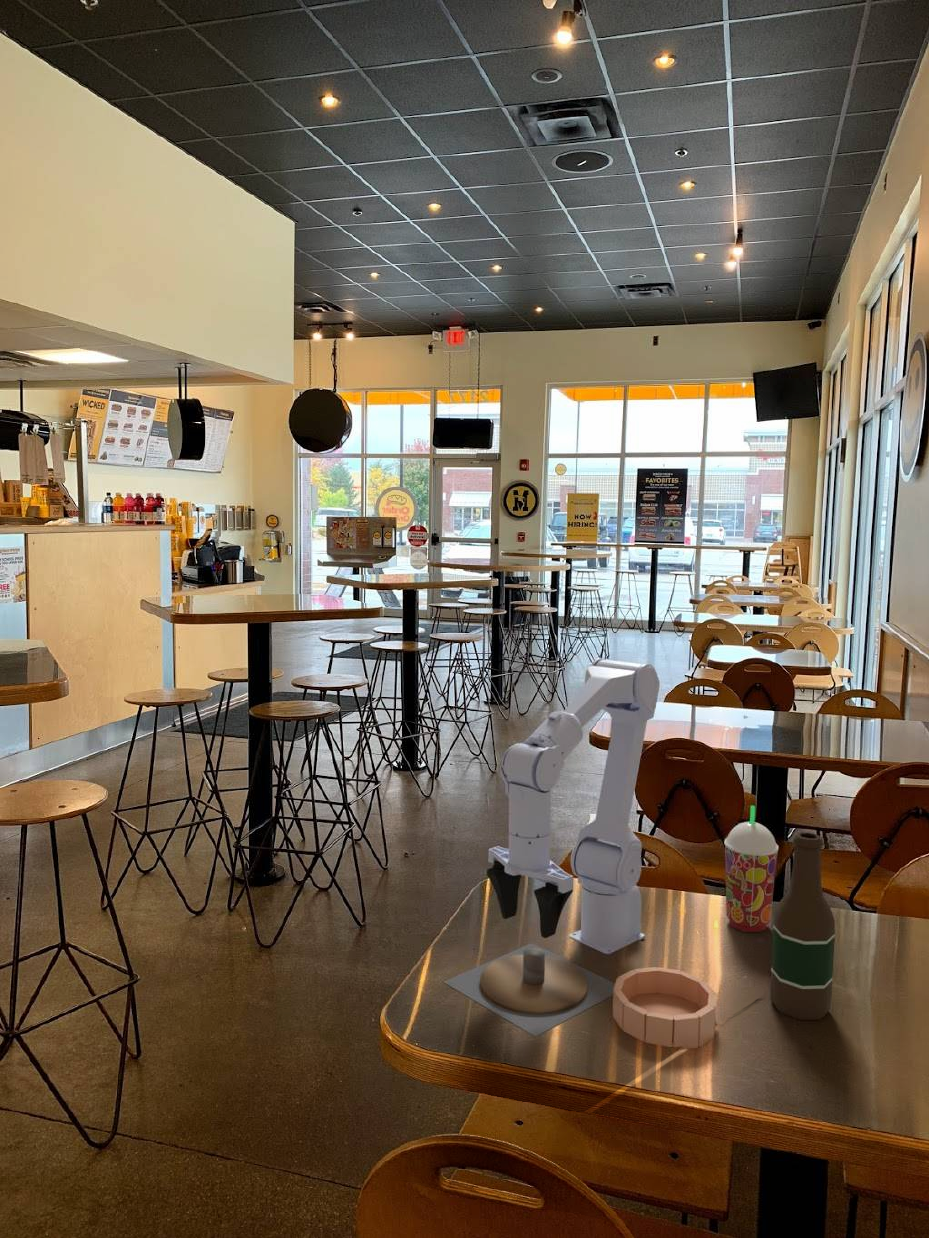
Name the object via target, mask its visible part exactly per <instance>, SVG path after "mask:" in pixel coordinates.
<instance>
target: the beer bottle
mask: <svg viewBox="0 0 929 1238" xmlns="http://www.w3.org/2000/svg"><path fill="white" fill-rule="evenodd" d="M792 842H793V843H794V851H793V852H794V853H793V861H792V870H791V871H792V872H791V878H790V883H789V886H788V887H789V888H788V891H787V892H786V894H785V895H784V896H783V897H782V898H781V899H780V900H779V902H778V905H777V907H776V909H775V911H774V914H773V915H774V916H773V925H772V942H771V943H772V944H771V964H770V965H771V967H770V986H769V987H770V989H769V990H770V993H769V994H770V1001H771V1003H772V1004H773V1005H774V1006H775V1008H776V1009H777V1010H778V1012H779V1013H781V1014H783V1015H785V1016H788V1017H791V1018H794V1019H796V1020H798V1021H818V1020H819V1021H820V1020H822V1019H823V1018H824V1017H825V1016H826V1014H828V1012H829V1011H830V1010H831V1006H832V1005H831V1004H832V995H833V993H832V992H833V977H834V960H835V959H834V958H835V956H834V955H835V937H836V929H835V927H836V924H835V922H836V921H835V917H834V915H833V910H832V908H831V906H830V905H829V904H828V902H827V900H826V899H825V898H824V897H825V896H824V894H823V887H822V851H821V850H822V847H823V846H824V842H823V837H821V836H820V835H818V834H816V833H812V832H808V831H807V832H805V831H804V832H803V831H801V832H797V833H796V834H795V835H794V837H793V840H792Z"/></svg>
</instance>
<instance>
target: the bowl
mask: <svg viewBox="0 0 929 1238" xmlns="http://www.w3.org/2000/svg"><path fill="white" fill-rule="evenodd" d="M717 995H718V994H717V992H716V991H715V990H714V989H713V988H712V987H711V986H710V985H709V983H708V982H707V981H704V979H703V978H702V979H701V978H700V977H697V976H695V975H692V974H690V973H688V972H686V971H684V970H683V971H682V970H678V969H672V968H665V967H660V966H657V967H656V966H653V967H652V966H651V967H641V968H633V969H631V970H629V971H627V972H625V973H623V974H621V975H619V976H618V977H617V978H616V980H615V986H614V989H613V996H612V1017H613V1019H614V1020H615V1022H616V1023H617V1025H618V1026H619V1028H620V1029H621V1030H623V1032H625V1033H626V1034H629V1035H630V1036H632V1037H634V1038H636V1039H638V1040H640V1041H641V1042H645V1043H646V1044H652V1045H658V1046H662V1047H668V1048H672V1047H673V1048H679V1049H678V1051H682V1050H683V1051H684V1050H691V1049H697V1048H700V1047H703V1046H704V1045H705V1044H707V1043H709V1042H710V1041H711V1040H713V1039H714V1038H715V1036H716V1023H717V999H718V997H717Z"/></svg>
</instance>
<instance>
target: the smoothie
mask: <svg viewBox="0 0 929 1238" xmlns="http://www.w3.org/2000/svg"><path fill="white" fill-rule="evenodd" d="M755 815H756V806H754V805H750V816H749V817H750V818H749V821H744V822H741V823H738V824H737V825H735V826H734V827H733V828H731V830H730V832H729V833H728V835H727V837H726V838H725V839H724V841H723V842H724V845H725V846H724V862H725V863H724V864H725V872H724V873H725V897H726V898H725V902H726V903H725V906H726V908H725V909H726V912H725V913H726V917H727V919H728V920H729V921H728V922H729V924H730V926H731V927H733V928H734V929H736V930H738V931H741V932H744V933H761V932H763V931H765V930H766V929H767V925H768V924H770V922H771V914H772V913H771V912H772V905H773V896H774V887H775V879H776V869H777V862H778V852H779V845H778V844H777V843H776V839H775V836H774V835H773V834H772V832H771V831H770V830H769V829H768V828H767V827H766V826H764V825H763V824H761V823H759V822H756V821H755Z"/></svg>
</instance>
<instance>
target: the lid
mask: <svg viewBox="0 0 929 1238" xmlns="http://www.w3.org/2000/svg"><path fill="white" fill-rule="evenodd" d="M480 987H481V990H482V992H483V994H484V995H485V996H486V997H487V998H488V999H489V1000H490V1001H492V1002H493V1003H495V1004H496V1005H498V1006H500V1007H503V1008H505V1009H508V1010H512V1011H516V1012H520V1013H527V1014H550V1013H557V1012H561V1011H565V1010H568V1009H570V1008H572V1007H574V1006H576V1005H578V1004H579V1003H580V1002H581V1001H582V1000H583V999H584V998H585V996H586V994H587V988H588V984H587V979H586V977H585V975H584V974H583V972H582V971H581V970H580V969H578V968H577V967H576V966H574V965H572V964H571V963H569V962H566V961H564V960H561V959H558V958H554V957H550V956H545V952H544V951H543V950H542V949H539V948H527V949H525V950H524V952H523V955H514V956H509V957H505V958H501V959H499V960H496V961H494V962H492V963H491V964H489V965H488V966H487V967H486V968H485V969H484V970H483V971H482V973H481V977H480Z"/></svg>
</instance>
